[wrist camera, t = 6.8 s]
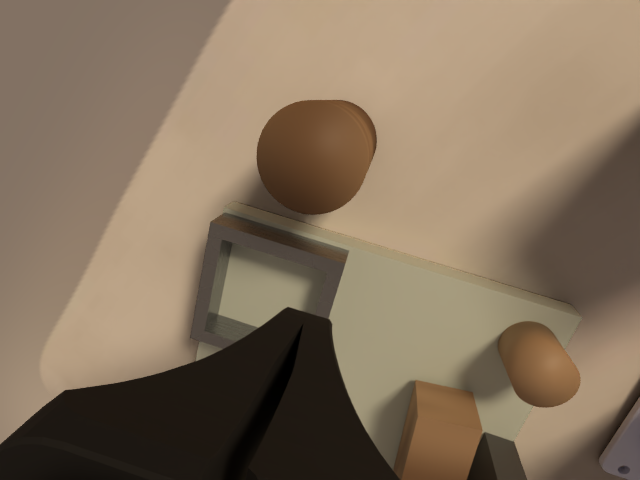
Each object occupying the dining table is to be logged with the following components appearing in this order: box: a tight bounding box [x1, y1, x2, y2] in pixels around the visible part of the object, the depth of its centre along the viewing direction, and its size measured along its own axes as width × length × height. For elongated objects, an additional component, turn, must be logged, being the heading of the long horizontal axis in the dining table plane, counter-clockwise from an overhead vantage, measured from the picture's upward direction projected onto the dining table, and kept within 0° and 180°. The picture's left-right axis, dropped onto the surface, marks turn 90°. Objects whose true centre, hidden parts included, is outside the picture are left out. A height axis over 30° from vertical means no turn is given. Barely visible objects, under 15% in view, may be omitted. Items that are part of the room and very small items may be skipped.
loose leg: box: [257, 100, 377, 214], centre depth 16 cm, size 3×3×6 cm
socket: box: [190, 212, 349, 349], centre depth 19 cm, size 6×6×2 cm
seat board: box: [196, 202, 582, 480], centre depth 20 cm, size 16×16×4 cm
